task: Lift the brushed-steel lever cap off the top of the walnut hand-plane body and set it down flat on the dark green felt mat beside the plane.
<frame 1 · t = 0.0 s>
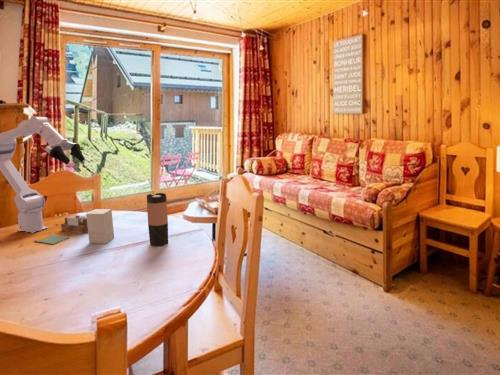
hand: (76, 161, 139), 32 cm above the table, tool tilted 50°, fingers open, 7 cm apart
felt mat: (52, 239, 142), on the table
lever cap: (76, 223, 154), point 3 cm above the table, touching plane body
supplement box: (102, 241, 142), on the table
plane body: (77, 230, 154), on the table
travel mug: (159, 243, 139), on the table
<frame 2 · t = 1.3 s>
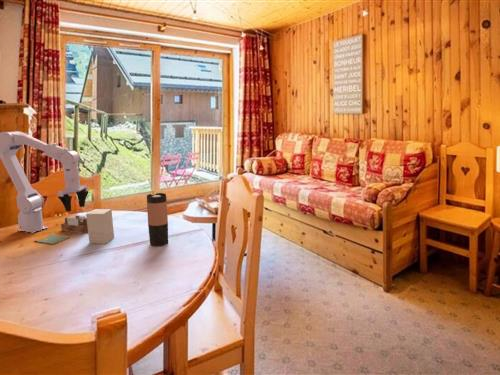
hand: (75, 208, 152), 10 cm above the table, tool pointing down, fingers open, 7 cm apart
nothing on the table moved.
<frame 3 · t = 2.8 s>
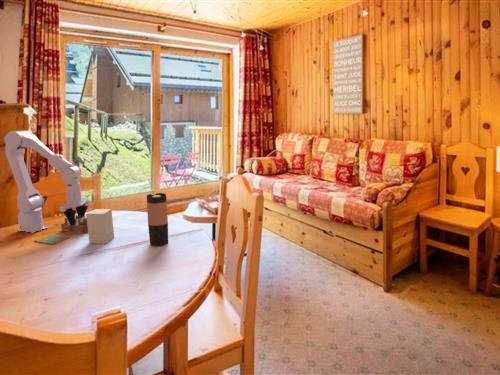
hand: (76, 223, 154), 3 cm above the table, tool pointing down, fingers closed on lever cap, 4 cm apart
lever cap: (76, 223, 154), point 3 cm above the table, touching gripper, plane body
everything else where it was.
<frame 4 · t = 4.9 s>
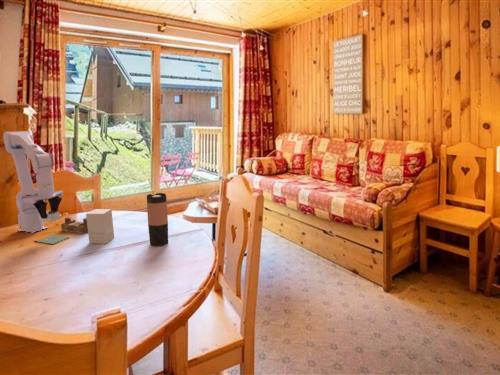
hand: (49, 216, 140), 10 cm above the table, tool pointing down, fingers closed on lever cap, 4 cm apart
lever cap: (49, 219, 141), point 9 cm above the table, touching gripper
everything else where it was.
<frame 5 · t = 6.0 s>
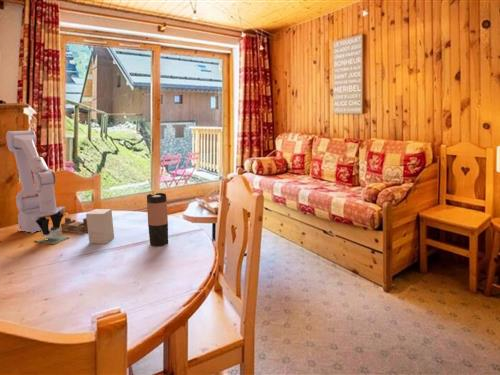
hand: (51, 232, 142), 3 cm above the table, tool pointing down, fingers closed on lever cap, 4 cm apart
lever cap: (51, 235, 142), point 2 cm above the table, touching gripper
everything else where it was.
when the fingers open (2 cm above the table, at t = 7.1 s): lever cap stays where it is, resting on felt mat.
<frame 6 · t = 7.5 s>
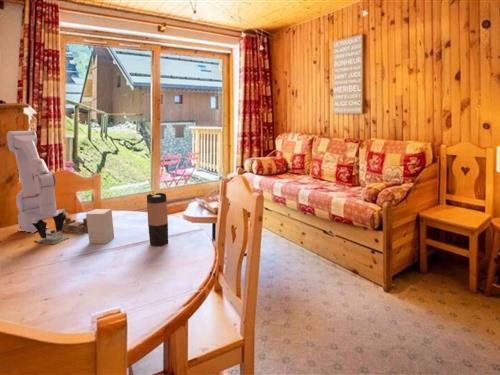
hand: (51, 234, 142), 2 cm above the table, tool pointing down, fingers open, 7 cm apart
lever cap: (52, 239, 142), resting on felt mat
everything else where it was.
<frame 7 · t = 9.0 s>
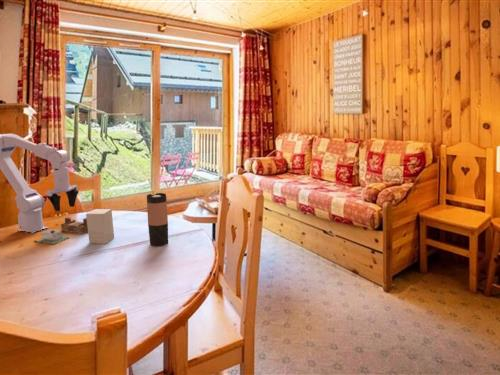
hand: (64, 208, 151), 10 cm above the table, tool pointing down, fingers open, 7 cm apart
nothing on the table moved.
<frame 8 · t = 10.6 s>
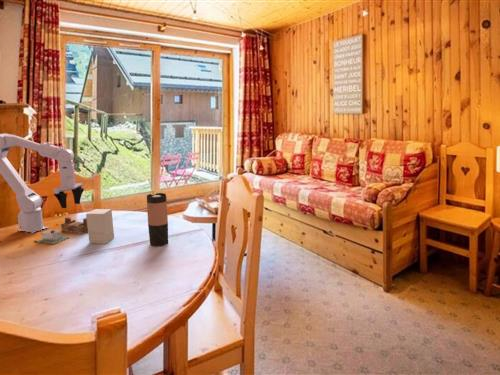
hand: (70, 205, 155), 10 cm above the table, tool pointing down, fingers open, 7 cm apart
nothing on the table moved.
at the end: lever cap inside the target area on the felt mat (0.1 cm from its centre), point 0.4 cm above the felt mat's base; lever cap touching felt mat; lever cap tilted 0° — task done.
